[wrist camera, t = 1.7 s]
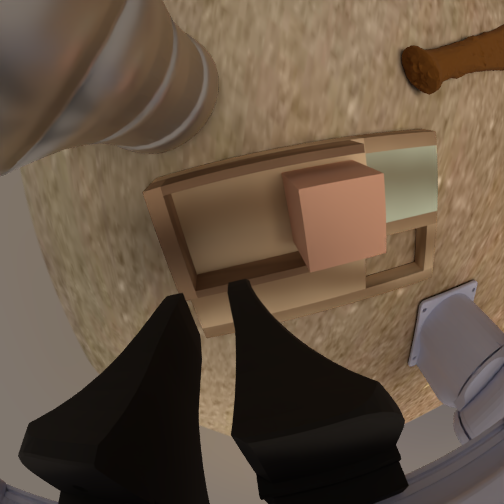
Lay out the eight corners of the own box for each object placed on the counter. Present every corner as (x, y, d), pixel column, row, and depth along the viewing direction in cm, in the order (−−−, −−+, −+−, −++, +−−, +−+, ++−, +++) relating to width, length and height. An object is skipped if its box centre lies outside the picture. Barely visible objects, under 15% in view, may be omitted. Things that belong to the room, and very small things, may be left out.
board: (422, 268, 23) (444, 289, 20) (206, 325, 23) (206, 356, 20) (423, 128, 18) (453, 135, 15) (155, 178, 18) (142, 192, 15)
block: (357, 226, 19) (386, 252, 15) (293, 241, 19) (310, 272, 15) (351, 159, 17) (383, 173, 13) (281, 172, 17) (298, 189, 13)
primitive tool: (510, 22, 13) (533, 21, 10) (527, 69, 15) (550, 72, 12) (388, 51, 16) (416, 44, 12) (417, 118, 18) (447, 123, 15)
